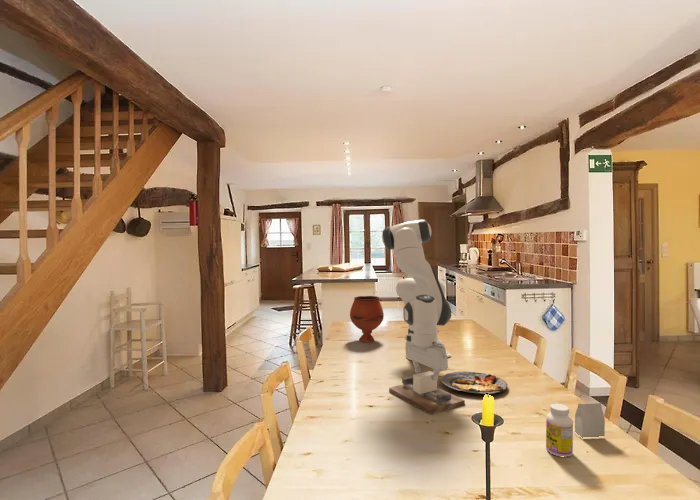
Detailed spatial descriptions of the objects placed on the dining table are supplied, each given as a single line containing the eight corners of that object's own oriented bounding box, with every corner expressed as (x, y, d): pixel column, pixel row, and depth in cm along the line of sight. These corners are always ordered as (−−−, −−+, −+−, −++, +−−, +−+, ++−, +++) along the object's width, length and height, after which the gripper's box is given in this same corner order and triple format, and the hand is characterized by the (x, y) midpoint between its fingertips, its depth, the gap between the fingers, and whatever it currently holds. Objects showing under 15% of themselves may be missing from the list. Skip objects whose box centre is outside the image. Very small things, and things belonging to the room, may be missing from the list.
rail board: (421, 383, 169) (421, 372, 169) (464, 404, 148) (464, 392, 148) (389, 391, 161) (389, 379, 161) (429, 414, 140) (429, 401, 140)
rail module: (430, 389, 158) (430, 370, 158) (437, 393, 155) (437, 373, 155) (413, 394, 155) (413, 374, 154) (420, 397, 151) (420, 377, 151)
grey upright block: (604, 439, 123) (604, 405, 122) (582, 439, 122) (582, 406, 122) (596, 433, 126) (596, 400, 126) (574, 433, 126) (575, 401, 126)
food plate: (506, 380, 173) (506, 371, 172) (508, 402, 151) (508, 392, 150) (445, 374, 181) (445, 366, 181) (438, 394, 159) (438, 385, 158)
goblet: (389, 338, 241) (389, 296, 240) (373, 346, 225) (372, 300, 224) (361, 334, 252) (360, 293, 251) (343, 342, 236) (343, 298, 235)
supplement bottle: (541, 446, 119) (541, 402, 118) (563, 445, 119) (563, 401, 119) (554, 459, 112) (555, 412, 111) (578, 457, 112) (578, 411, 112)
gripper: (451, 344, 147) (452, 383, 147) (415, 332, 164) (415, 367, 165) (438, 347, 143) (438, 386, 144) (402, 334, 161) (402, 369, 162)
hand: (426, 376), depth 155 cm, fingers open, 8 cm apart
